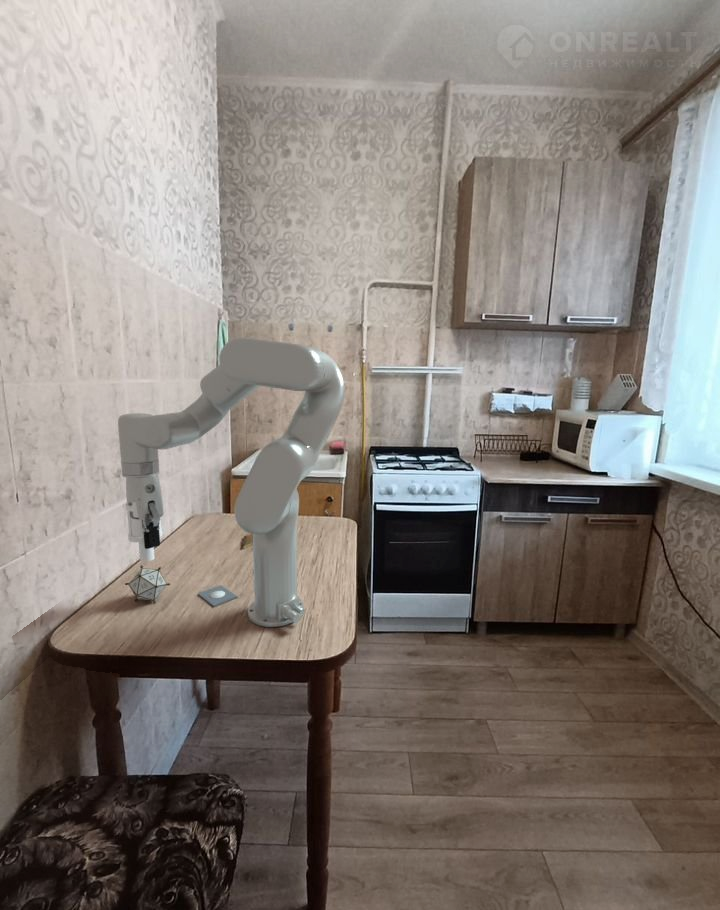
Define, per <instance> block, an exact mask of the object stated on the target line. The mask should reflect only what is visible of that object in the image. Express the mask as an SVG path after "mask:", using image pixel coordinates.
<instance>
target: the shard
mask: <svg viewBox="0 0 720 910" xmlns="http://www.w3.org/2000/svg"><path fill="white" fill-rule="evenodd" d="M250 547H253V534H250V533H248V534H247V535H244V536H243V540H242V548H243V550H245V549H248V548H250Z"/></svg>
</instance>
